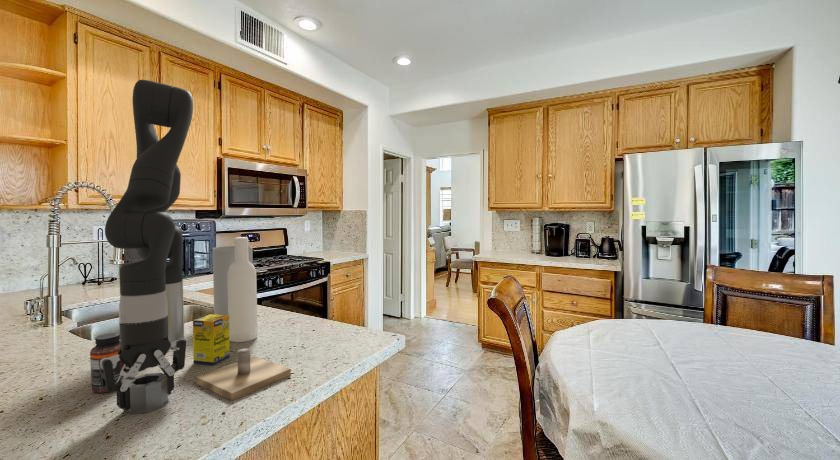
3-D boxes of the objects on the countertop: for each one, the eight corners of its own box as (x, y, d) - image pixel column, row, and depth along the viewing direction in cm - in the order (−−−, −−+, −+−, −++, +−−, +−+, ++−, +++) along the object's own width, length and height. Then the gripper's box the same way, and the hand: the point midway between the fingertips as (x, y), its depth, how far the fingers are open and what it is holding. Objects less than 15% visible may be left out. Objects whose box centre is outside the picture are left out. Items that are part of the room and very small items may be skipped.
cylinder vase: (228, 324, 125) (226, 249, 124) (206, 319, 131) (205, 248, 130) (261, 316, 136) (259, 247, 135) (239, 311, 142) (238, 245, 141)
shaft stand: (195, 383, 82) (194, 353, 82) (254, 362, 94) (253, 336, 94) (231, 400, 75) (231, 368, 74) (290, 375, 86) (290, 347, 86)
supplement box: (213, 365, 92) (212, 321, 91) (192, 363, 93) (191, 319, 93) (230, 356, 98) (229, 314, 97) (210, 354, 99) (209, 313, 98)
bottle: (231, 344, 106) (229, 238, 105) (225, 337, 112) (223, 237, 111) (261, 338, 111) (259, 237, 110) (253, 332, 118) (252, 236, 116)
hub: (121, 407, 72) (120, 382, 72) (157, 394, 77) (156, 370, 77) (135, 417, 69) (134, 390, 68) (172, 402, 74) (171, 377, 74)
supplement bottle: (120, 379, 84) (118, 329, 84) (133, 385, 81) (131, 333, 81) (86, 390, 79) (84, 336, 79) (98, 397, 76) (96, 341, 76)
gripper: (175, 305, 80) (177, 382, 81) (89, 321, 68) (92, 412, 69) (193, 310, 76) (195, 391, 77) (105, 328, 64) (108, 424, 65)
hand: (146, 400), depth 73 cm, fingers open, 6 cm apart
